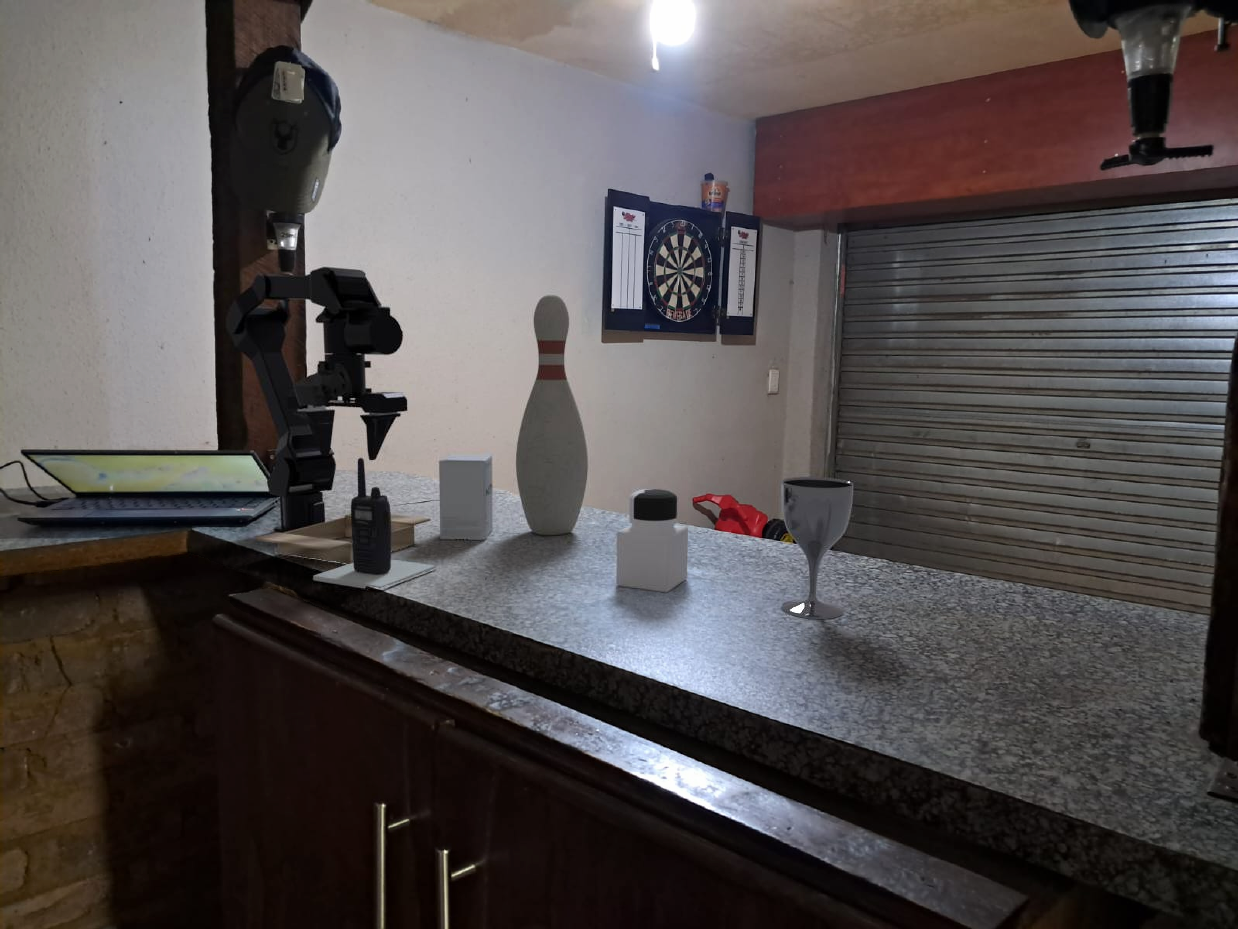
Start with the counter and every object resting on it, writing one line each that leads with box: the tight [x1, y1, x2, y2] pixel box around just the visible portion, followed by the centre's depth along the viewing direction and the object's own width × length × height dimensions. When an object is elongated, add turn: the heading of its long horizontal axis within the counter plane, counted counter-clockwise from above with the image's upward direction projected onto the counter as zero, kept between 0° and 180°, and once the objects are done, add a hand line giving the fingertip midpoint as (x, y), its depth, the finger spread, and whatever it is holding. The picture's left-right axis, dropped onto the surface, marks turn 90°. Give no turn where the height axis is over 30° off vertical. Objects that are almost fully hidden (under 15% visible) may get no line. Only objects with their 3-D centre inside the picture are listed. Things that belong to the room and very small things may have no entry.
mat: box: [312, 558, 437, 590], centre depth 111 cm, size 11×11×1 cm
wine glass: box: [780, 476, 854, 620], centre depth 97 cm, size 8×8×15 cm
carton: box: [254, 513, 432, 564], centre depth 124 cm, size 14×22×3 cm, turn 155°
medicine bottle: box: [615, 488, 689, 593], centre depth 107 cm, size 7×7×12 cm
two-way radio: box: [350, 457, 392, 575], centre depth 110 cm, size 6×4×15 cm
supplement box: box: [438, 454, 494, 541], centre depth 133 cm, size 7×7×13 cm
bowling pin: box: [515, 294, 589, 536], centre depth 134 cm, size 11×12×38 cm
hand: (348, 458), depth 127 cm, fingers open, 9 cm apart
